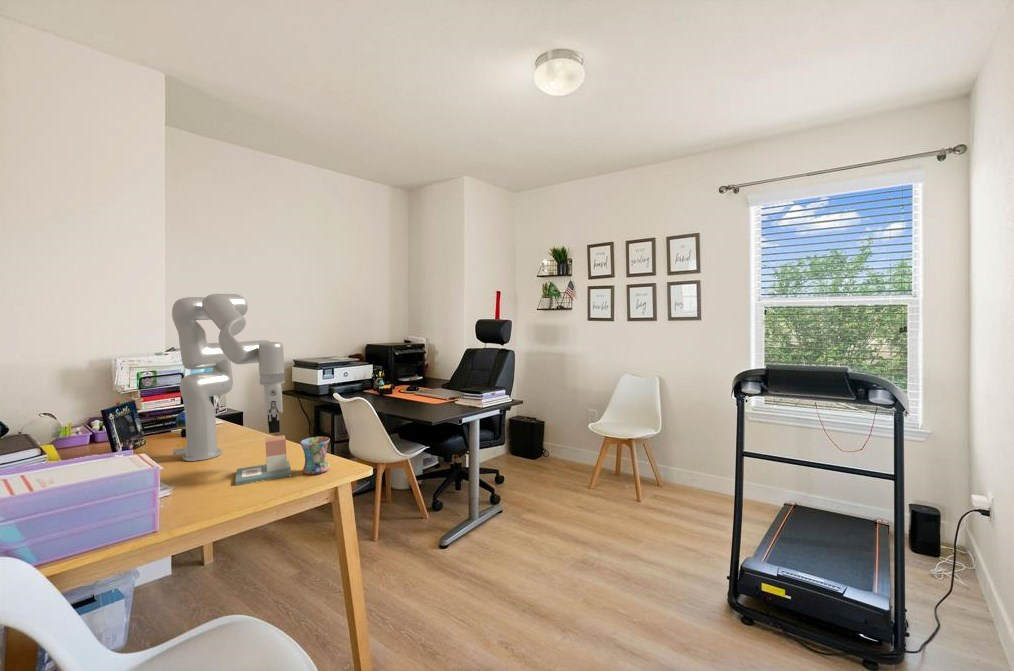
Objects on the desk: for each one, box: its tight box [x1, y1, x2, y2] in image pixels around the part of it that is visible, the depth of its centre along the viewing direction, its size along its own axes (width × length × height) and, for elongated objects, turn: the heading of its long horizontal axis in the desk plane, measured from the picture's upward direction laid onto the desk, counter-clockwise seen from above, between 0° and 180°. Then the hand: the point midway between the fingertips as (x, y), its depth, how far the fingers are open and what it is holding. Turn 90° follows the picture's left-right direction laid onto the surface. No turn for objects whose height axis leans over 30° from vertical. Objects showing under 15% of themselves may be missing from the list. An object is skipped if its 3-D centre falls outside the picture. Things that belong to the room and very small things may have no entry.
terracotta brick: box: [264, 434, 287, 458], centre depth 160 cm, size 6×6×5 cm
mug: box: [299, 436, 331, 475], centre depth 158 cm, size 12×9×11 cm
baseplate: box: [235, 453, 293, 486], centre depth 158 cm, size 16×14×7 cm
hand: (273, 429), depth 160 cm, fingers open, 9 cm apart
